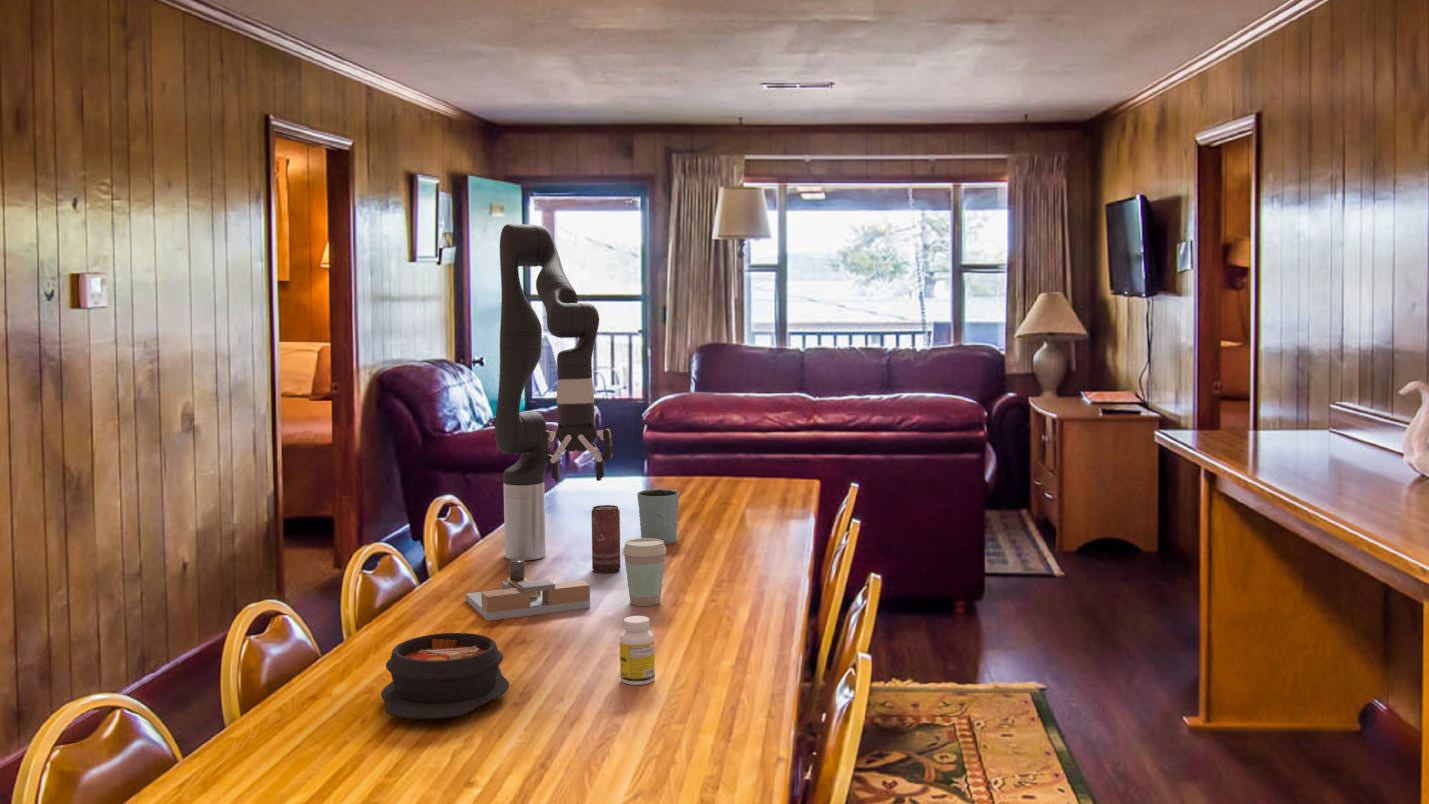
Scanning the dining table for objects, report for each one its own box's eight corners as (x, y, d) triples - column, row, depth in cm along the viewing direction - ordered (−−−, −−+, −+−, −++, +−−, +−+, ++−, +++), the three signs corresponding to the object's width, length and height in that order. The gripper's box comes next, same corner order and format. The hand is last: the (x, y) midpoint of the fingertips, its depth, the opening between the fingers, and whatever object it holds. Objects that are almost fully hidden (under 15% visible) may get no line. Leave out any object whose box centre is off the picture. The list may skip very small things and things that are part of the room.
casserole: (410, 673, 192) (408, 622, 191) (525, 675, 191) (524, 623, 190) (355, 730, 167) (353, 671, 166) (487, 732, 166) (486, 673, 165)
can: (617, 574, 258) (616, 509, 257) (588, 572, 259) (587, 508, 258) (624, 567, 264) (624, 504, 263) (597, 566, 265) (596, 503, 264)
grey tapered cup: (682, 537, 296) (681, 489, 295) (676, 545, 286) (676, 496, 285) (641, 536, 297) (640, 488, 296) (634, 545, 287) (634, 495, 286)
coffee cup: (673, 599, 237) (673, 539, 236) (657, 609, 229) (656, 547, 228) (633, 595, 240) (632, 536, 239) (616, 606, 232) (615, 544, 231)
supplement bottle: (620, 675, 190) (619, 614, 189) (654, 674, 190) (653, 613, 190) (620, 686, 185) (619, 624, 184) (655, 685, 185) (655, 623, 184)
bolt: (507, 587, 240) (506, 560, 239) (523, 585, 241) (522, 558, 241) (522, 599, 231) (521, 570, 230) (538, 597, 232) (537, 569, 232)
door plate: (466, 600, 236) (465, 573, 236) (563, 589, 245) (562, 562, 244) (487, 621, 222) (487, 591, 221) (590, 608, 230) (589, 580, 230)
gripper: (613, 399, 247) (615, 478, 248) (545, 401, 249) (548, 479, 249) (606, 401, 240) (609, 482, 240) (536, 402, 241) (539, 483, 242)
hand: (578, 480), depth 245 cm, fingers open, 8 cm apart
